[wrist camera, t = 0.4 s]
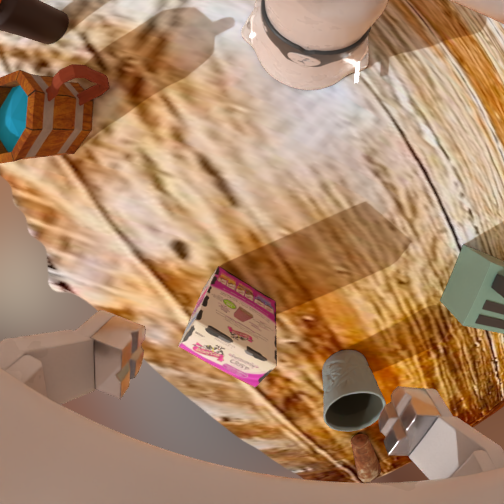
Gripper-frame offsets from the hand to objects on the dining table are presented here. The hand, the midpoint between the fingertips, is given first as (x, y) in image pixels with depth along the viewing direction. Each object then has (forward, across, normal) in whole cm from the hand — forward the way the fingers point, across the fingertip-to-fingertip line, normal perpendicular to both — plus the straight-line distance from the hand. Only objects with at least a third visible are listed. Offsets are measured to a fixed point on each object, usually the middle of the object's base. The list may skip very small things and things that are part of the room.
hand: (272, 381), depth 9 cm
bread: (+44, -37, +50) cm, 76 cm away
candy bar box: (+40, +2, +14) cm, 42 cm away
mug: (+36, +36, -10) cm, 52 cm away
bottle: (+35, +47, -26) cm, 64 cm away
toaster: (+40, -42, +1) cm, 58 cm away
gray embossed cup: (+41, -20, +24) cm, 51 cm away
